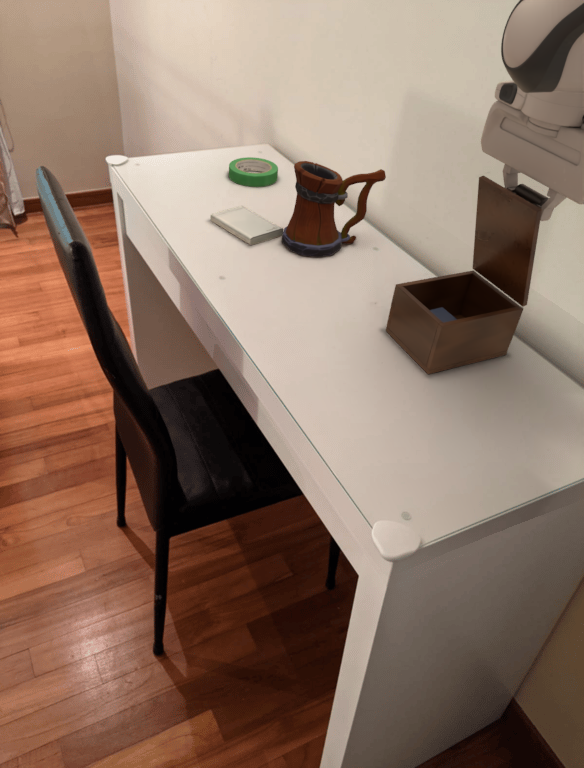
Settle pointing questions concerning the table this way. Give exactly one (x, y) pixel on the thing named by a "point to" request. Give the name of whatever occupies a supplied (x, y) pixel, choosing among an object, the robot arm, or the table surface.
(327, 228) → the mug
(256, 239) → the hard drive
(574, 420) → the table surface
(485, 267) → the lid
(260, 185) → the tape roll
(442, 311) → the block
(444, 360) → the chest
